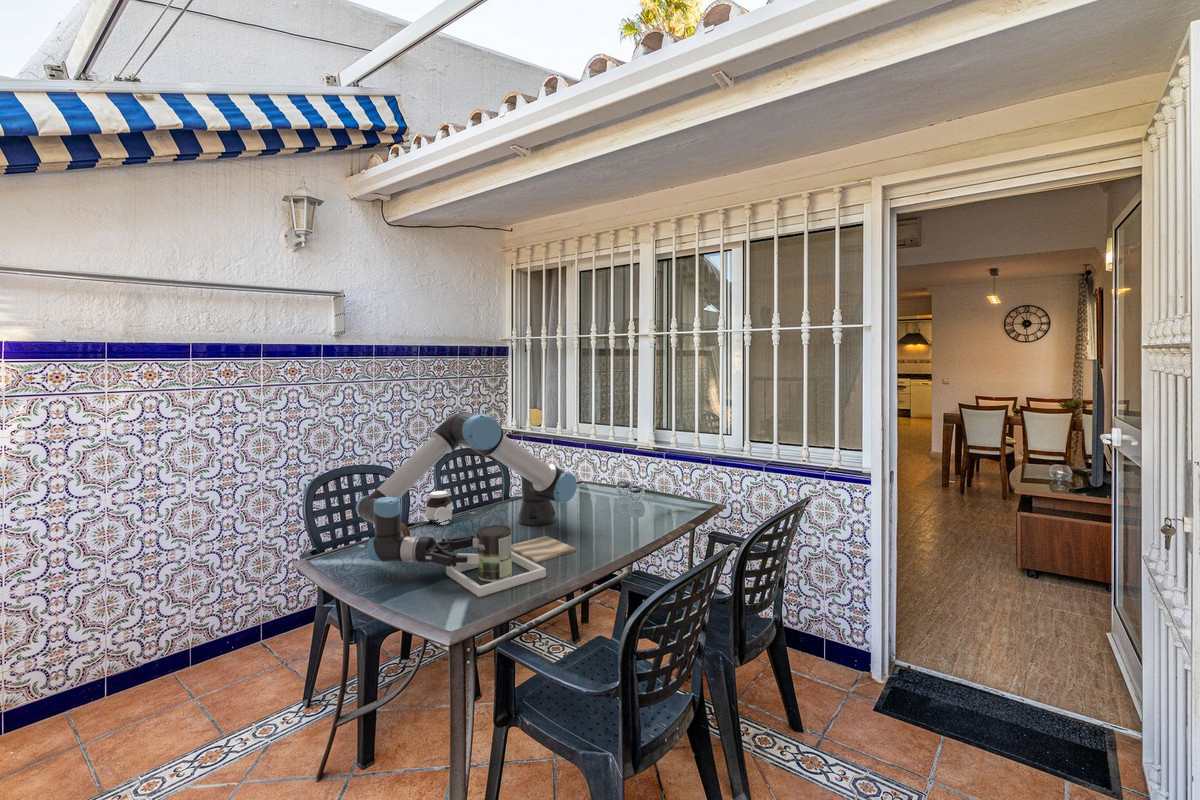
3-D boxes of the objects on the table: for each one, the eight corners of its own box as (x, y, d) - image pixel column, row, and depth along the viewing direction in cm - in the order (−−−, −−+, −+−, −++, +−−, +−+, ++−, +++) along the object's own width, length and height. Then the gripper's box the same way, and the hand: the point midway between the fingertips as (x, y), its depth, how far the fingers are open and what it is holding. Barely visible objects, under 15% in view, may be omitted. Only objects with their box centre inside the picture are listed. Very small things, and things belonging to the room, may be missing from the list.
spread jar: (440, 516, 237) (439, 489, 236) (462, 519, 232) (461, 491, 231) (420, 524, 227) (419, 495, 226) (442, 527, 222) (441, 498, 221)
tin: (411, 545, 200) (410, 522, 200) (404, 548, 198) (403, 525, 197) (379, 540, 207) (378, 518, 206) (373, 543, 204) (372, 520, 203)
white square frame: (446, 574, 173) (445, 566, 173) (509, 557, 187) (509, 549, 186) (479, 597, 156) (478, 588, 156) (545, 576, 170) (545, 568, 169)
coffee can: (482, 584, 164) (480, 537, 163) (474, 572, 174) (473, 528, 173) (516, 578, 169) (515, 532, 168) (507, 567, 178) (506, 523, 177)
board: (507, 548, 195) (507, 545, 195) (546, 538, 205) (546, 535, 205) (535, 562, 181) (535, 559, 181) (575, 551, 191) (575, 548, 191)
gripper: (436, 547, 186) (498, 548, 183) (400, 577, 161) (472, 579, 158) (435, 525, 185) (498, 526, 182) (399, 551, 160) (471, 552, 158)
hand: (486, 550), depth 170 cm, fingers open, 13 cm apart
